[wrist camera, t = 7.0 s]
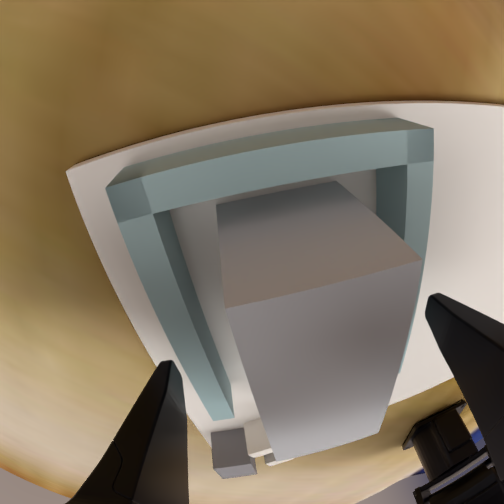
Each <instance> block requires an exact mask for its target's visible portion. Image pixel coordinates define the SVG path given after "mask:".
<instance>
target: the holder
mask: <svg viewBox="0 0 504 504" xmlns="http://www.w3.org/2000/svg"><path fill="white" fill-rule="evenodd" d="M433 165H434V128H431V127H428V126H424V125H421V124H418V123H415V122H411V121H408V120H404V119H401V118H386V119H372V120H361V121H350V122H341V123H332V124H324V125H316V126H309V127H302V128H295V129H289V130H282V131H276V132H270V133H265V134H259V135H254V136H248V137H243V138H238V139H233V140H228V141H224V142H219V143H214V144H210V145H206V146H201V147H197V148H193V149H189V150H185V151H181V152H177V153H173V154H169V155H165V156H161V157H158V158H154V159H151V160H147V161H144V162H140V163H137V164H133V165H130V166H127V167H124V168H123V169H122V170H121V171H120V172H119V173H118V174H117V175H116V176H115V177H114V179H113V180H112V181H111V182H110V183H109V184H108V185H107V186H106V187H105V190H106V192H107V195H108V198H109V201H110V204H111V207H112V210H113V212H114V215H115V218H116V220H117V223H118V226H119V228H120V231H121V234H122V236H123V239H124V241H125V244H126V246H127V249H128V251H129V254H130V256H131V259H132V261H133V264H134V266H135V268H136V271H137V273H138V275H139V278H140V280H141V282H142V285H143V287H144V289H145V291H146V294H147V296H148V298H149V300H150V302H151V305H152V307H153V309H154V311H155V313H156V315H157V317H158V320H159V322H160V324H161V326H162V328H163V330H164V332H165V334H166V336H167V338H168V340H169V342H170V344H171V346H172V348H173V350H174V352H175V354H176V356H177V358H178V360H179V361H180V363H181V365H182V367H183V369H184V371H185V373H186V375H187V376H188V378H189V380H190V382H191V384H192V385H193V387H194V389H195V391H196V393H197V394H198V396H199V398H200V400H201V401H202V403H203V405H204V406H205V408H206V410H207V412H208V413H209V415H210V417H211V418H212V420H213V421H218V420H224V419H231V418H235V417H234V408H233V400H232V391H231V384H230V381H229V379H228V376H227V374H226V371H225V369H224V366H223V364H222V361H221V359H220V356H219V353H218V351H217V348H216V346H215V343H214V340H213V338H212V335H211V332H210V330H209V327H208V324H207V322H206V319H205V316H204V313H203V311H202V308H201V305H200V302H199V300H198V297H197V294H196V291H195V288H194V285H193V282H192V279H191V277H190V274H189V271H188V268H187V265H186V262H185V259H184V256H183V253H182V250H181V247H180V243H179V240H178V237H177V234H176V231H175V228H174V225H173V221H172V218H171V215H170V212H169V210H170V209H174V208H178V207H182V206H187V205H191V204H195V203H199V202H204V201H208V200H212V199H217V198H221V197H226V196H230V195H235V194H240V193H244V192H249V191H254V190H259V189H264V188H269V187H274V186H279V185H284V184H289V183H294V182H300V181H305V180H311V179H316V178H322V177H328V176H334V175H340V174H346V173H352V172H358V171H365V170H371V169H376V216H378V217H379V218H380V219H381V220H382V221H383V222H384V223H385V224H386V225H387V226H389V227H390V228H391V229H392V230H393V231H394V232H395V233H396V234H397V235H398V236H399V237H400V238H401V239H402V240H403V241H404V242H405V243H406V244H407V245H409V246H410V247H411V248H412V249H413V250H414V251H415V252H416V253H417V254H418V255H419V256H420V257H421V258H422V259H423V260H422V266H421V273H420V279H419V285H418V291H417V296H416V301H415V306H414V311H413V316H412V321H411V325H410V330H409V334H408V338H407V342H406V346H405V350H404V354H403V358H402V361H401V365H400V369H399V372H398V374H399V373H400V372H401V368H402V365H403V361H404V358H405V354H406V350H407V346H408V342H409V339H410V334H411V330H412V326H413V322H414V317H415V313H416V308H417V303H418V298H419V293H420V288H421V282H422V276H423V270H424V264H425V257H426V250H427V242H428V234H429V225H430V215H431V203H432V188H433Z"/></svg>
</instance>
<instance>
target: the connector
mask: <svg viewBox="0 0 504 504" xmlns="http://www.w3.org/2000/svg"><path fill="white" fill-rule="evenodd" d="M216 213H217V226H218V238H219V250H220V262H221V273H222V284H223V294H224V304H225V311H226V314H227V317H228V320H229V323H230V327H231V330H232V333H233V336H234V339H235V343H236V346H237V349H238V352H239V355H240V358H241V361H242V364H243V367H244V370H245V373H246V376H247V379H248V382H249V385H250V388H251V391H252V394H253V397H254V400H255V403H256V406H257V409H258V412H259V415H260V418H261V420H262V423H263V426H264V429H265V432H266V435H267V437H268V440H269V443H270V446H271V449H272V451H273V454H274V457H275V459H276V462H277V461H282V460H287V459H291V458H296V457H300V456H304V455H308V454H312V453H316V452H320V451H323V450H327V449H330V448H334V447H337V446H340V445H344V444H347V443H350V442H353V441H356V440H359V439H362V438H365V437H368V436H371V435H374V434H376V433H378V432H379V430H380V427H381V424H382V422H383V419H384V416H385V413H386V410H387V407H388V404H389V401H390V398H391V395H392V392H393V389H394V386H395V382H396V379H397V376H398V372H399V369H400V365H401V361H402V358H403V354H404V350H405V346H406V342H407V338H408V334H409V330H410V325H411V321H412V316H413V311H414V306H415V301H416V296H417V291H418V285H419V279H420V273H421V266H422V260H423V259H422V258H421V257H420V256H419V255H418V254H417V253H416V252H415V251H414V250H413V249H412V248H411V247H410V246H409V245H407V244H406V243H405V242H404V241H403V240H402V239H401V238H400V237H399V236H398V235H397V234H396V233H395V232H394V231H393V230H392V229H391V228H390V227H389V226H387V225H386V224H385V223H384V222H383V221H382V220H381V219H380V218H379V217H378V216H376V215H375V214H374V213H373V212H372V211H371V210H370V209H369V208H368V207H366V206H365V205H364V204H363V203H362V202H361V201H360V200H358V199H357V198H356V197H355V196H354V195H353V194H351V193H350V192H349V191H348V190H347V189H346V188H344V187H343V186H342V185H341V184H340V183H338V182H337V181H332V182H327V183H321V184H316V185H310V186H305V187H300V188H294V189H289V190H284V191H279V192H274V193H269V194H264V195H259V196H255V197H250V198H245V199H241V200H236V201H231V202H227V203H222V204H218V205H216Z"/></svg>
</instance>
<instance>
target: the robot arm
mask: <svg viewBox="0 0 504 504" xmlns="http://www.w3.org/2000/svg"><path fill="white" fill-rule="evenodd" d="M425 318H426V320H427V322H428V325H429V327H430V329H431V331H432V333H433V336H434V338H435V340H436V343H437V345H438V347H439V349H440V352H441V353H442V355H443V357H444V359H445V361H446V363H447V365H448V366H449V368H450V370H451V372H452V374H453V376H454V378H455V380H456V381H457V383H458V385H459V387H460V389H461V391H462V393H463V395H464V397H465V399H466V401H467V403H468V405H469V408H470V410H471V412H472V414H473V416H474V418H475V420H476V422H477V425H478V427H479V429H480V431H481V434H482V436H483V438H484V441H485V443H486V445H485V446H484V448H482V449H481V450H480V451H478V449H477V447H476V446H475V443H474V441H473V440H472V436H471V435H470V433H469V431H468V429H467V427H466V425H465V424H464V422H463V420H462V418H461V417H460V413H461V412H462V410H463V409H464V407H465V406H466V404H467V403H466V401H465V400H464V401H462V402H460V403H458V404H456V405H454V406H452V407H451V408H449V409H447V410H445V411H443V412H441V413H439V414H437V415H434V416H432V417H430V418H428V419H426V420H424V421H422V422H419V423H418V424H416V425H415V426H414V427H413V429H412V431H411V433H410V435H409V436H408V438H407V440H406V441H405V443H404V445H403V446H402V448H403V450H406V449H409V448H411V447H413V446H414V448H415V450H416V452H417V455H418V457H419V459H420V461H421V464H422V466H423V468H424V470H425V473H426V475H427V477H428V479H429V483H427V484H425V485H424V486H422V487H418V488H416V489H415V491H414V492H413V494H414V497H415V499H416V502H417V504H504V324H503V323H501V322H499V321H497V320H495V319H493V318H491V317H489V316H487V315H485V314H483V313H481V312H479V311H477V310H475V309H473V308H471V307H469V306H467V305H464V304H462V303H460V302H458V301H456V300H454V299H452V298H450V297H448V296H446V295H444V294H441V293H435V294H432V295H430V296H429V297H428V300H427V305H426V309H425ZM113 440H114V441H112V442H111V444H110V446H109V447H108V449H107V451H106V452H105V454H104V455H103V457H102V459H101V460H100V462H99V463H98V465H97V466H96V467H95V469H94V470H93V472H92V473H91V474H90V476H89V477H88V478H87V480H86V481H85V482H84V483H83V485H82V486H81V487H80V489H79V490H78V491H77V493H76V494H75V495H74V496H73V497H72V498H71V499H70V500H69V501H68V502H67V503H65V504H189V491H188V456H187V415H186V406H185V398H184V389H183V380H182V376H181V373H180V372H179V370H178V368H177V366H176V364H175V363H174V361H173V360H165V361H161V362H160V363H159V364H158V366H157V368H156V369H155V371H154V373H153V374H152V376H151V378H150V379H149V381H148V382H147V384H146V386H145V387H144V389H143V391H142V392H141V394H140V396H139V397H138V399H137V401H136V402H135V404H134V406H133V407H132V409H131V411H130V412H129V414H128V416H127V417H126V419H125V421H124V422H123V424H122V426H121V427H120V429H119V431H118V432H117V434H116V436H115V437H114V439H113ZM487 455H488V457H489V458H488V459H487V460H485V461H484V462H483V463H481V464H480V465H478V466H477V467H475V468H474V469H472V470H471V471H470V472H468V473H466V474H465V475H463V476H462V477H460V478H459V479H457V480H455V481H454V482H452V483H450V484H449V485H447V486H445V487H444V488H442V489H440V490H438V491H436V492H435V493H433V494H431V493H430V491H431V490H433V489H435V488H437V487H438V486H440V485H442V484H444V483H445V482H447V481H449V480H450V479H452V478H454V477H455V476H457V475H459V474H460V473H462V472H463V471H465V470H466V469H468V468H469V467H471V466H472V465H474V464H475V463H477V462H478V461H480V460H481V459H482V458H484V457H485V456H487ZM492 465H493V467H491V466H492ZM488 468H489V469H488Z"/></svg>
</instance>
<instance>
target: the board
mask: <svg viewBox="0 0 504 504" xmlns="http://www.w3.org/2000/svg"><path fill="white" fill-rule="evenodd" d="M386 118H401V119H404V120H408V121H411V122H415V123H418V124H421V125H424V126H428V127H431V128H434V165H433V188H432V203H431V215H430V225H429V234H428V242H427V250H426V257H425V264H424V270H423V276H422V282H421V288H420V293H419V298H418V303H417V308H416V313H415V317H414V322H413V326H412V330H411V334H410V339H409V342H408V346H407V350H406V354H405V358H404V361H403V365H402V368H401V372H400V373H399V374H398V376H397V379H396V382H395V386H394V389H393V392H392V395H391V398H390V401H389V404H388V406H389V405H391V404H394V403H396V402H399V401H401V400H404V399H406V398H409V397H411V396H414V395H416V394H418V393H421V392H423V391H425V390H427V389H430V388H432V387H434V386H436V385H438V384H440V383H443V382H445V381H447V380H449V379H451V378H453V377H454V376H453V374H452V372H451V370H450V368H449V366H448V365H447V363H446V361H445V359H444V357H443V355H442V353H441V352H440V349H439V347H438V345H437V343H436V340H435V338H434V336H433V333H432V331H431V329H430V327H429V325H428V322H427V320H426V318H425V309H426V305H427V300H428V297H429V296H430V295H432V294H435V293H441V294H444V295H446V296H448V297H450V298H452V299H454V300H456V301H458V302H460V303H462V304H464V305H467V306H469V307H471V308H473V309H475V310H477V311H479V312H481V313H483V314H485V315H487V316H489V317H491V318H493V319H495V320H497V321H499V322H501V323H503V324H504V105H501V104H491V103H478V102H461V101H382V102H364V103H350V104H338V105H328V106H318V107H310V108H302V109H294V110H287V111H280V112H274V113H268V114H262V115H256V116H250V117H245V118H240V119H234V120H229V121H225V122H220V123H215V124H211V125H206V126H202V127H197V128H193V129H189V130H185V131H181V132H177V133H173V134H170V135H166V136H162V137H158V138H155V139H151V140H148V141H144V142H141V143H138V144H134V145H131V146H128V147H125V148H122V149H118V150H115V151H112V152H109V153H106V154H103V155H100V156H98V157H95V158H92V159H89V160H86V161H84V162H81V163H78V164H75V165H74V166H72V167H71V168H69V169H68V170H67V171H66V174H67V177H68V180H69V183H70V186H71V188H72V191H73V194H74V197H75V199H76V202H77V205H78V207H79V210H80V213H81V215H82V218H83V220H84V223H85V225H86V228H87V230H88V233H89V235H90V237H91V240H92V242H93V244H94V247H95V249H96V251H97V254H98V256H99V258H100V260H101V263H102V265H103V267H104V269H105V271H106V273H107V275H108V278H109V280H110V282H111V284H112V286H113V288H114V290H115V292H116V294H117V296H118V298H119V300H120V302H121V304H122V306H123V308H124V310H125V312H126V314H127V315H128V317H129V319H130V321H131V323H132V325H133V327H134V328H135V330H136V332H137V334H138V336H139V337H140V339H141V341H142V343H143V345H144V346H145V348H146V350H147V351H148V353H149V355H150V357H151V358H152V360H153V362H154V363H155V365H156V367H157V366H158V364H159V363H160V362H161V361H165V360H173V361H174V363H175V364H176V366H177V368H178V370H179V372H180V373H181V376H182V380H183V389H184V398H185V406H186V413H187V414H188V416H189V417H190V419H191V420H192V422H193V423H194V424H195V426H196V427H197V429H198V430H199V431H200V433H201V434H202V435H203V437H204V438H205V440H206V441H207V442H208V444H209V445H210V446H211V432H218V431H225V430H232V429H238V428H244V423H247V422H250V421H253V420H255V419H258V418H260V415H259V412H258V409H257V406H256V403H255V400H254V397H253V394H252V391H251V388H250V385H249V382H248V379H247V376H246V373H245V370H244V367H243V364H242V361H241V358H240V355H239V352H238V349H237V346H236V343H235V339H234V336H233V333H232V330H231V327H230V323H229V320H228V317H227V314H226V311H225V304H224V294H223V284H222V273H221V262H220V250H219V238H218V226H217V213H216V205H218V204H222V203H227V202H231V201H236V200H241V199H245V198H250V197H255V196H259V195H264V194H269V193H274V192H279V191H284V190H289V189H294V188H300V187H305V186H310V185H316V184H321V183H327V182H332V181H337V182H338V183H340V184H341V185H342V186H343V187H344V188H346V189H347V190H348V191H349V192H350V193H351V194H353V195H354V196H355V197H356V198H357V199H358V200H360V201H361V202H362V203H363V204H364V205H365V206H366V207H368V208H369V209H370V210H371V211H372V212H373V213H374V214H375V215H376V169H371V170H365V171H358V172H352V173H346V174H340V175H334V176H328V177H322V178H316V179H311V180H305V181H300V182H294V183H289V184H284V185H279V186H274V187H269V188H264V189H259V190H254V191H249V192H244V193H240V194H235V195H230V196H226V197H221V198H217V199H212V200H208V201H204V202H199V203H195V204H191V205H187V206H182V207H178V208H174V209H170V210H169V212H170V215H171V218H172V221H173V225H174V228H175V231H176V234H177V237H178V240H179V243H180V247H181V250H182V253H183V256H184V259H185V262H186V265H187V268H188V271H189V274H190V277H191V279H192V282H193V285H194V288H195V291H196V294H197V297H198V300H199V302H200V305H201V308H202V311H203V313H204V316H205V319H206V322H207V324H208V327H209V330H210V332H211V335H212V338H213V340H214V343H215V346H216V348H217V351H218V353H219V356H220V359H221V361H222V364H223V366H224V369H225V371H226V374H227V376H228V379H229V381H230V384H231V391H232V400H233V408H234V417H235V418H231V419H224V420H218V421H213V420H212V418H211V417H210V415H209V413H208V412H207V410H206V408H205V406H204V405H203V403H202V401H201V400H200V398H199V396H198V394H197V393H196V391H195V389H194V387H193V385H192V384H191V382H190V380H189V378H188V376H187V375H186V373H185V371H184V369H183V367H182V365H181V363H180V361H179V360H178V358H177V356H176V354H175V352H174V350H173V348H172V346H171V344H170V342H169V340H168V338H167V336H166V334H165V332H164V330H163V328H162V326H161V324H160V322H159V320H158V317H157V315H156V313H155V311H154V309H153V307H152V305H151V302H150V300H149V298H148V296H147V294H146V291H145V289H144V287H143V285H142V282H141V280H140V278H139V275H138V273H137V271H136V268H135V266H134V264H133V261H132V259H131V256H130V254H129V251H128V249H127V246H126V244H125V241H124V239H123V236H122V234H121V231H120V228H119V226H118V223H117V220H116V218H115V215H114V212H113V210H112V207H111V204H110V201H109V198H108V195H107V192H106V190H105V187H106V186H107V185H108V184H109V183H110V182H111V181H112V180H113V179H114V177H115V176H116V175H117V174H118V173H119V172H120V171H121V170H122V169H123V168H124V167H127V166H130V165H133V164H137V163H140V162H144V161H147V160H151V159H154V158H158V157H161V156H165V155H169V154H173V153H177V152H181V151H185V150H189V149H193V148H197V147H201V146H206V145H210V144H214V143H219V142H224V141H228V140H233V139H238V138H243V137H248V136H254V135H259V134H265V133H270V132H276V131H282V130H289V129H295V128H302V127H309V126H316V125H324V124H332V123H341V122H350V121H361V120H372V119H386ZM211 448H212V446H211Z"/></svg>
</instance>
